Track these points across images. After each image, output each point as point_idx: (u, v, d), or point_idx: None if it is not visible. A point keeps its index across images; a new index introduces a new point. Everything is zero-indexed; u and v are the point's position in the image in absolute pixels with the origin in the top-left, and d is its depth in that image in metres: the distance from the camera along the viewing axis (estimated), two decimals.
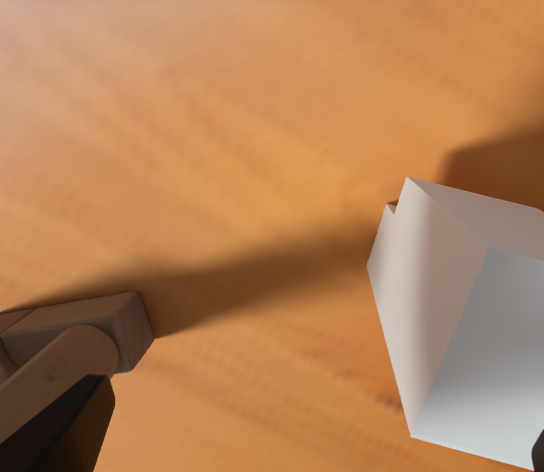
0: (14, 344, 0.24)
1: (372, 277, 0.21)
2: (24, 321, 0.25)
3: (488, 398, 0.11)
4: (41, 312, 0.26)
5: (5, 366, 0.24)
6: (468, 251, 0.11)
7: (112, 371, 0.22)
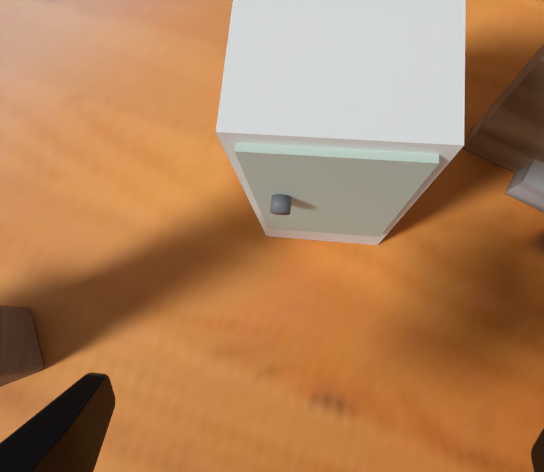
0: None
1: None
2: None
3: (279, 71, 0.11)
4: None
5: None
6: None
7: None
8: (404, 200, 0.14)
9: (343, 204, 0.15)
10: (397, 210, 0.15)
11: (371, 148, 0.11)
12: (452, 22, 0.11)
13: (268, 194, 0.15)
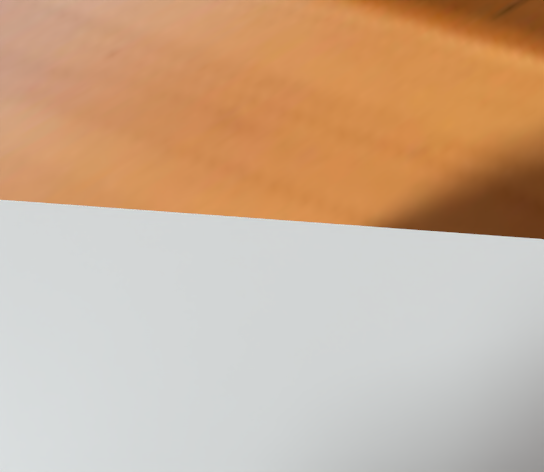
0: None
1: None
2: None
3: None
4: None
5: None
6: None
7: None
8: None
9: None
10: None
11: None
12: None
13: None
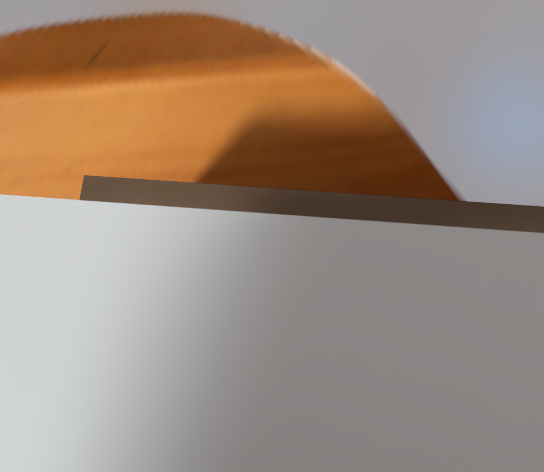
0: None
1: None
2: None
3: None
4: None
5: None
6: None
7: None
8: None
9: None
10: None
11: None
12: None
13: None
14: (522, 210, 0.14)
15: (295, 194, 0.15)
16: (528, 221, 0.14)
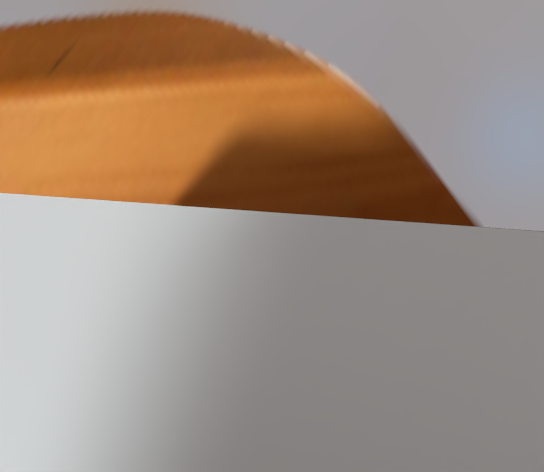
0: None
1: None
2: None
3: None
4: None
5: None
6: None
7: None
8: None
9: None
10: None
11: None
12: None
13: None
14: None
15: None
16: None
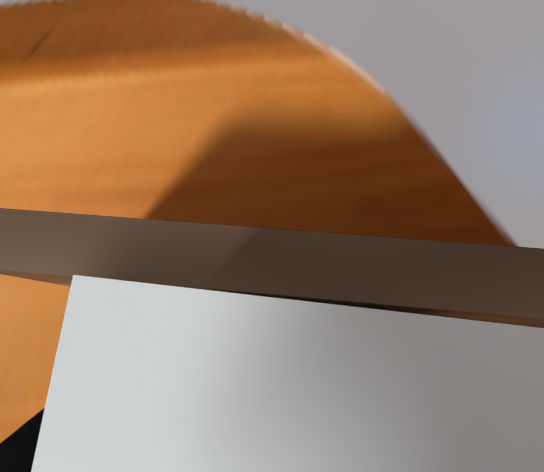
0: None
1: None
2: None
3: None
4: None
5: None
6: None
7: None
8: None
9: None
10: None
11: None
12: None
13: None
14: None
15: (274, 235, 0.10)
16: None
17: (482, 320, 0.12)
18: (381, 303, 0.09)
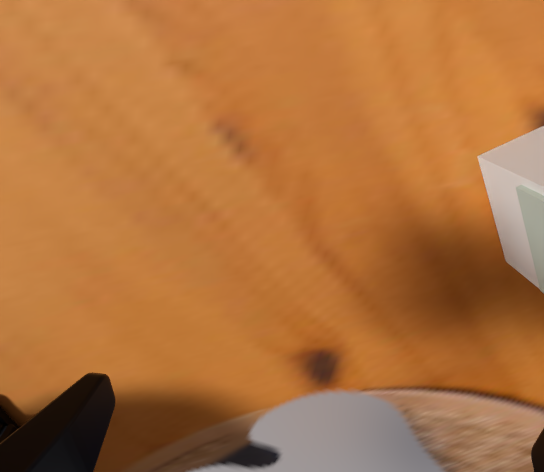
0: None
1: (514, 166, 0.17)
2: None
3: None
4: None
5: None
6: None
7: None
8: None
9: None
10: None
11: None
12: None
13: None
14: None
15: None
16: None
17: None
18: None
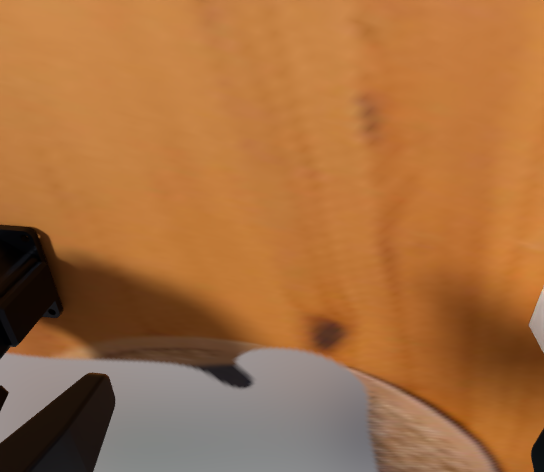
0: None
1: None
2: None
3: None
4: None
5: None
6: None
7: None
8: None
9: None
10: None
11: None
12: None
13: None
14: None
15: None
16: None
17: None
18: None
